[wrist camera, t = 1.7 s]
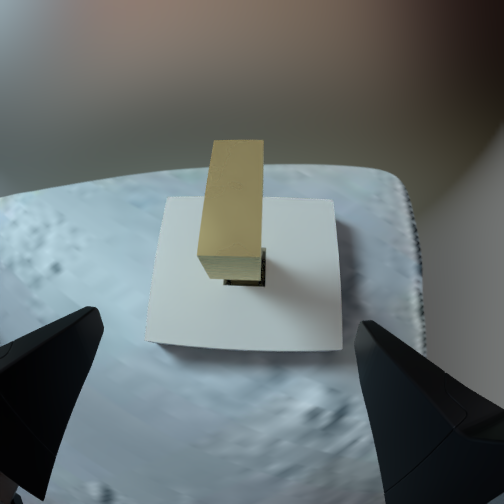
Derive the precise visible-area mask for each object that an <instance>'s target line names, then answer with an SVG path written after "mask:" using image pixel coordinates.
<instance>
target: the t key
mask: <svg viewBox="0 0 504 504" xmlns="http://www.w3.org/2000/svg"><path fill="white" fill-rule="evenodd" d="M263 151H264V140H215V141H214V144H213V149H212V155H211V160H210V166H209V172H208V178H207V185H206V191H205V198H204V204H203V211H202V218H201V225H200V233H199V241H198V249H197V257H198V259H199V260H200V262H201V264H202V266H203V268H204V269H205V271H206V273H207V275H208V276H209V278H210V279H227V280H231V282H232V285H233V286H259V281H261V248H262V212H263V156H264V154H263V153H264V152H263Z"/></svg>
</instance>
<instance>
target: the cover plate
mask: <svg viewBox="0 0 504 504" xmlns="http://www.w3.org/2000/svg"><path fill="white" fill-rule="evenodd" d="M204 198H205V196H194V197H167V201H166V205H165V210H164V215H163V219H162V224H161V229H160V235H159V240H158V245H157V251H156V257H155V263H154V269H153V275H152V282H151V289H150V296H149V304H148V312H147V321H146V330H145V341H148V342H152V343H157V344H165V345H174V346H183V347H193V348H205V349H218V350H234V351H257V352H327V351H338V350H343V346H342V303H341V282H340V267H339V254H338V242H337V232H336V222H335V213H334V205H333V200H327V199H308V198H284V197H263V212H262V248H261V260H266V265H265V287H259V286H229V285H228V280H227V279H210V278H209V276H208V275H207V273H206V271H205V269H204V268H203V266H202V264H201V262H200V260H199V259H198V257H197V249H198V241H199V233H200V225H201V218H202V211H203V204H204Z"/></svg>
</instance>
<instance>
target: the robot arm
mask: <svg viewBox="0 0 504 504" xmlns="http://www.w3.org/2000/svg"><path fill="white" fill-rule="evenodd" d="M103 332H104V326H103V322H102V319H101V316H100V313H99V310H98V309H97V308H96V307H91V306H87V307H84V308H82V309H80V310H78V311H76V312H73V313H71V314H69V315H67V316H65V317H63V318H60V319H58V320H56V321H54V322H52V323H50V324H48V325H45V326H43V327H41V328H39V329H37V330H35V331H33V332H31V333H29V334H26V335H24V336H22V337H20V338H18V339H16V340H14V341H12V342H10V343H8V344H6V345H3V346H1V347H0V504H23V502H22V499H21V496H20V495H18V494H17V493H16V491H17V488H18V486H20V487H22V488H23V489H24V490H26V491H27V492H29V493H30V494H32V495H34V496H35V497H37V498H38V499H40V500H41V501H44V498H45V495H46V491H47V487H48V483H49V480H50V476H51V473H52V469H53V466H54V463H55V459H56V456H57V453H58V450H59V447H60V444H61V441H62V438H63V435H64V432H65V429H66V427H67V424H68V421H69V419H70V416H71V413H72V411H73V408H74V406H75V403H76V401H77V398H78V396H79V394H80V391H81V389H82V386H83V384H84V382H85V380H86V377H87V375H88V373H89V371H90V368H91V366H92V363H93V360H94V357H95V355H96V352H97V349H98V346H99V343H100V340H101V338H102V335H103ZM355 352H356V358H357V365H358V372H359V379H360V385H361V389H362V393H363V397H364V401H365V405H366V409H367V413H368V417H369V421H370V425H371V430H372V434H373V438H374V443H375V448H376V452H377V457H378V462H379V467H380V472H381V478H382V483H383V489H384V493H385V494H384V496H385V502H386V504H504V409H502V408H501V407H499V406H497V405H496V404H494V403H492V402H491V401H489V400H487V399H486V398H484V397H482V396H481V395H479V394H477V393H476V392H474V391H472V390H471V389H469V388H468V387H466V386H464V385H463V384H462V383H460V382H459V381H457V380H456V379H454V378H453V377H451V376H450V375H449V374H448V373H445V372H444V371H443V370H442V369H441V368H439V367H438V366H436V365H435V364H434V363H432V362H431V361H429V360H428V359H427V358H425V357H424V356H422V355H421V354H420V353H418V352H417V351H415V350H414V349H413V348H411V347H410V346H408V345H407V344H406V343H404V342H403V341H401V340H400V339H399V338H397V337H396V336H394V335H393V334H391V333H390V332H389V331H387V330H386V329H384V328H383V327H382V326H380V325H379V324H377V323H376V322H374V321H373V320H366V321H361V322H360V324H359V327H358V331H357V334H356V338H355Z"/></svg>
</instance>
